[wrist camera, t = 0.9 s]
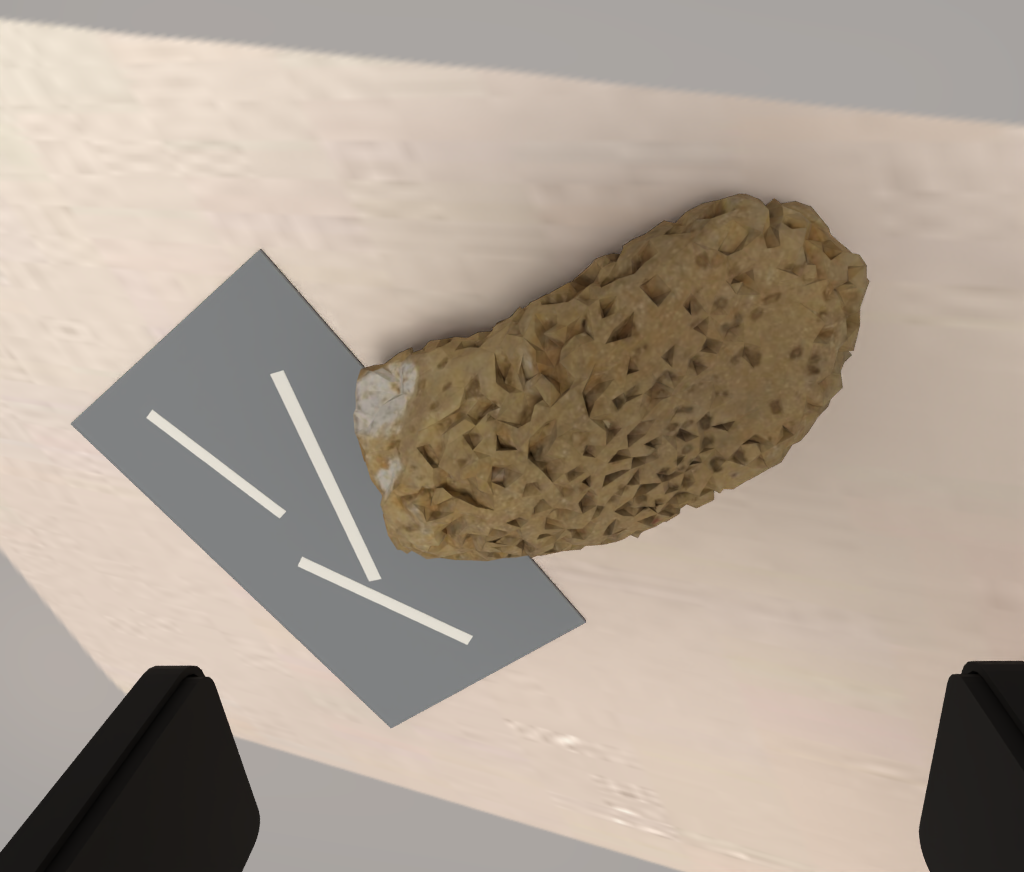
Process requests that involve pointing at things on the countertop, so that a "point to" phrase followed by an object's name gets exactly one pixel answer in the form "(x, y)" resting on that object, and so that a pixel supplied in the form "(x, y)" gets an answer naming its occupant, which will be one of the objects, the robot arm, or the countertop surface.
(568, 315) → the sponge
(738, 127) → the countertop surface
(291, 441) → the mat
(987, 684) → the robot arm
